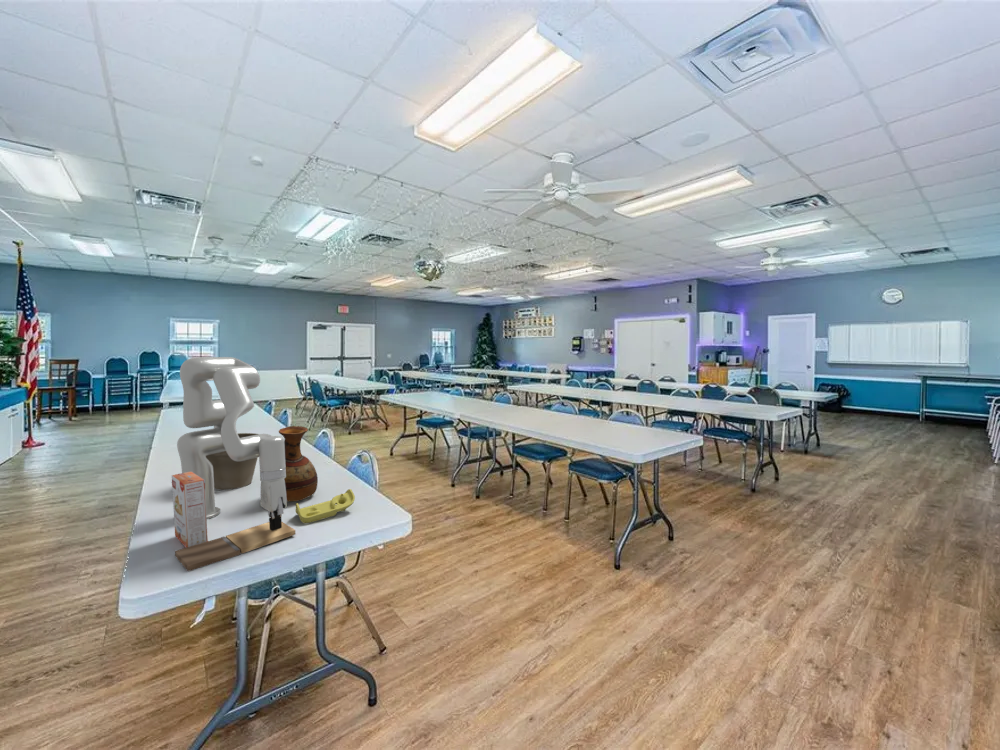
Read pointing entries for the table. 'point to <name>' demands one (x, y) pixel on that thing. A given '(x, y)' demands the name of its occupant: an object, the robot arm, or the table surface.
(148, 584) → the table surface
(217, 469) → the plant pot
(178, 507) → the cracker box
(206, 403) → the robot arm
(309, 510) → the plastic component
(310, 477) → the ceramic pitcher
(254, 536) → the oak plank
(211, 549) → the walnut board
